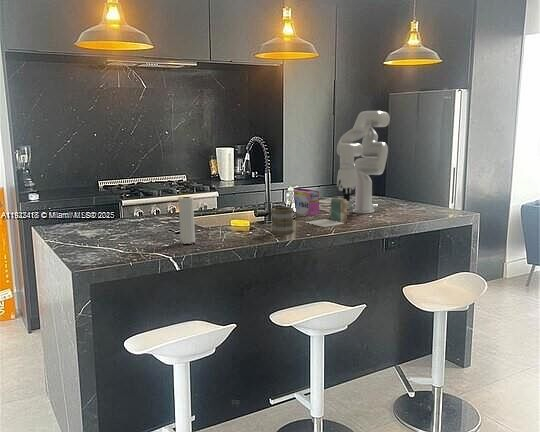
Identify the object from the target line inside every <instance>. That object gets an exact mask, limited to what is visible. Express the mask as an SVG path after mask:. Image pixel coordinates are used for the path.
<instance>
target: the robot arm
mask: <svg viewBox="0 0 540 432" xmlns="http://www.w3.org/2000/svg"><path fill="white" fill-rule="evenodd" d="M390 119H391V117H390V114H389V113H388V112H386V111H381V110H366V111H365V110H364V111H360V113H359V114H358V115H357V117H356V119H355V122H354V125H353V127H352V128H351V129H349V130H348V131H347V132H344V134H342V136H341V137H339V141H338V143H337V145H336V153H337V156H339V169H338V171H337V177H336V188H338V191H340V192H342V194H343V199H347V202H350V199H351V194H352V193H351V192H352V191H353V190H354V189H355V197H354V198H355V202H354V204H355V207H354V208H353V209H352V212H353V213H354V214H373V213H374V212H375V209H374V208H378V204H377V203H375V204H374V203H373V202H372V201H373V181H372V178H371V177H370V176H371V175H373V176H380V175H382V174H383V173H384V171H385V169H386V163H387V159H388V153H389V146H388V145H387V143H386V142H383V141H378V139H379V135H378V133H377V132H376V130H375V129H374V128H385V127H387V126H388V125H389V124H390V121H391V120H390ZM361 139H362V141H361V143H359V142H356V141H360V140H361ZM355 157H359V158H357V159H355Z"/></svg>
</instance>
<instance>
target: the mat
mask: <svg viewBox="0 0 540 432" xmlns="http://www.w3.org/2000/svg"><path fill="white" fill-rule="evenodd" d="M304 223H305V224H308V223H309V225H312V224H313V226H318V227H321V228H328V227H334V226H335V227H336V226H341V225H345V223H346V222H342V223H341V222H336V221H332V220H331V219H327V218H324V219H318V220H317V219H316V220H312V221H311V220H310V221H305V222H304Z"/></svg>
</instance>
